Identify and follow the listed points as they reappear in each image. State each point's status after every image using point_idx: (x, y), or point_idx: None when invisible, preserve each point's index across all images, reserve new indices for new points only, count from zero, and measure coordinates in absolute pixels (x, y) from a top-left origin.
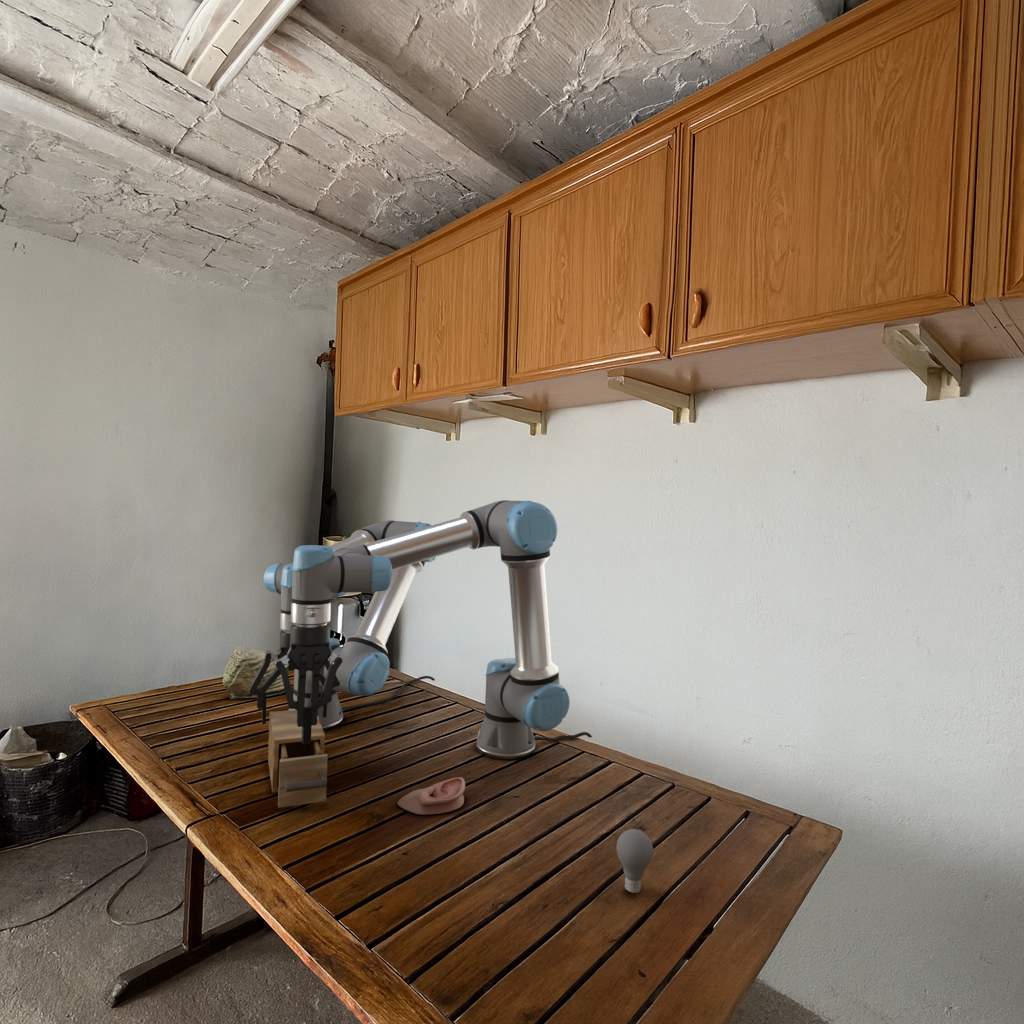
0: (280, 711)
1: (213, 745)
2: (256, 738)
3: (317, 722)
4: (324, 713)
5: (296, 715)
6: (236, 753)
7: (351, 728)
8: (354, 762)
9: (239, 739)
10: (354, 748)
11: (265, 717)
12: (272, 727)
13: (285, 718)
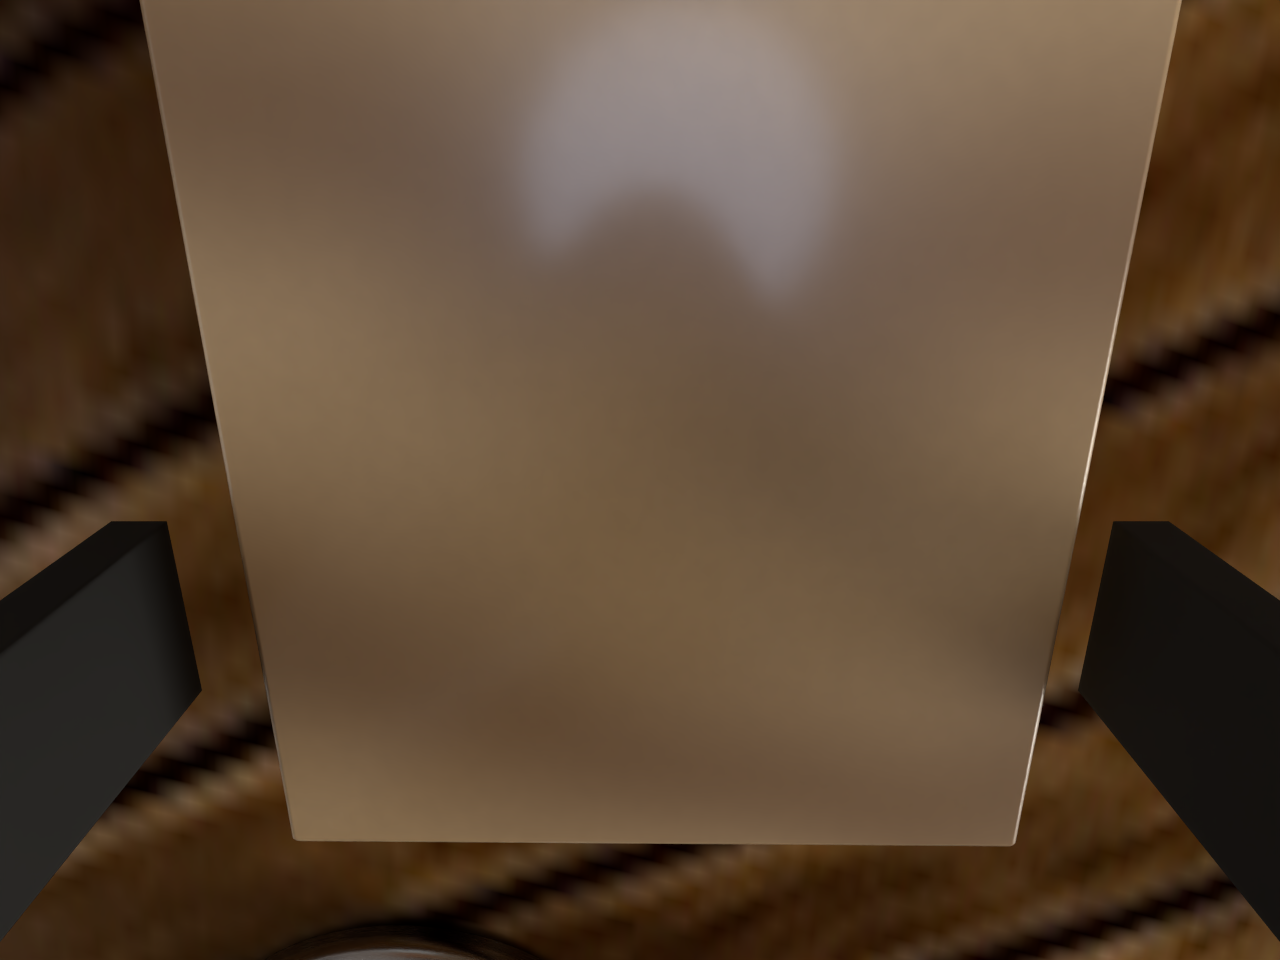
0: (850, 826)
1: (1199, 890)
2: (875, 929)
3: (206, 49)
4: (105, 551)
5: (613, 582)
6: (1071, 707)
7: (130, 924)
8: (57, 201)
9: (998, 942)
10: (79, 532)
11: (1181, 572)
12: (1179, 3)
13: (825, 481)
